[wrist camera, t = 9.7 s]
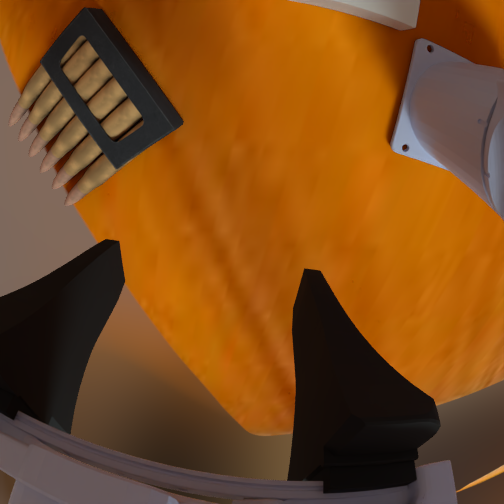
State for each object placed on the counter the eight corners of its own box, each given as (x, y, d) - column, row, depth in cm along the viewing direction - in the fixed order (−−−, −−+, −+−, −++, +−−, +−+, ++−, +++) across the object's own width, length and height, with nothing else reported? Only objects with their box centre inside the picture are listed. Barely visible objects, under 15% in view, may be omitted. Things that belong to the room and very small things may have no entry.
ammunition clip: (100, 7, 14) (11, 114, 18) (84, 5, 12) (-3, 121, 17) (184, 123, 18) (78, 208, 23) (174, 130, 17) (66, 219, 22)
